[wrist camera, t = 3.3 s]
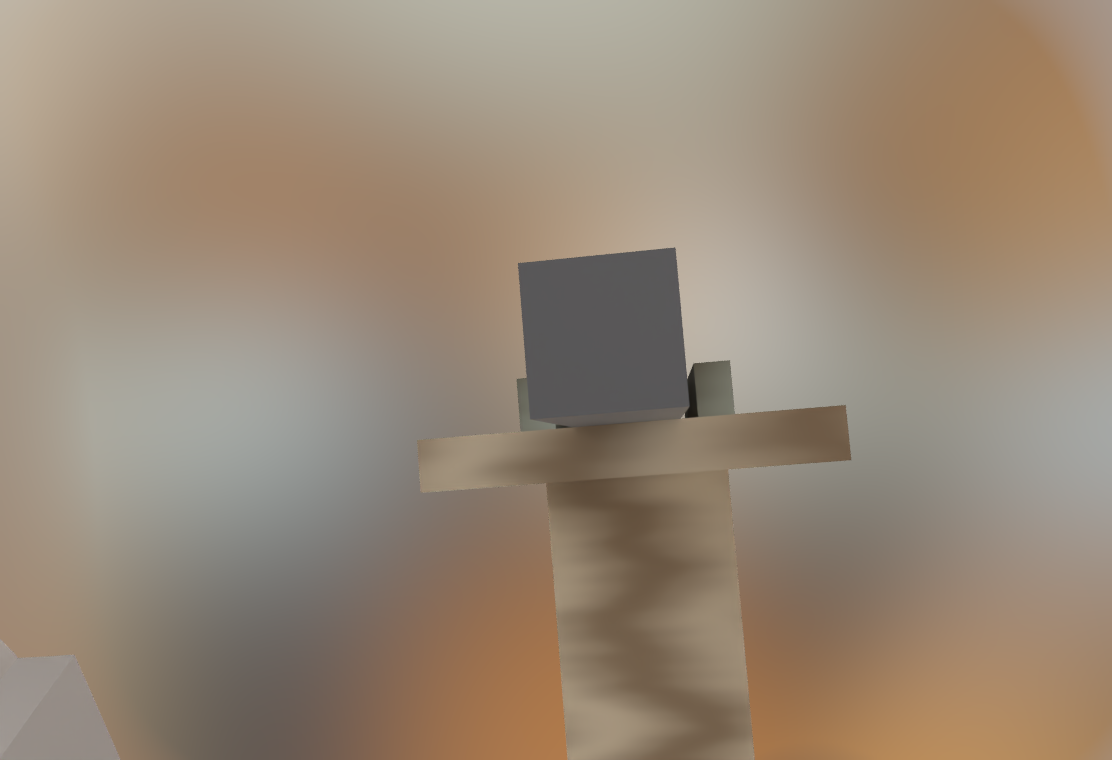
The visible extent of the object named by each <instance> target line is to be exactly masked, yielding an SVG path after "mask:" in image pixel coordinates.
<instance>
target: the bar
mask: <svg viewBox="0 0 1112 760" xmlns="http://www.w3.org/2000/svg"><path fill="white" fill-rule="evenodd" d="M675 250H676V249H675V248H666V249H657V250H647V251H636V252H626V253H617V254H606V255H596V256H586V257H576V258H567V259H556V260H546V261H537V262H527V263H518V269H519V281H520V295H521V308H522V320H523V333H524V346H525V360H526V373H527V386H528V399H529V412H530V420H535V421H541V422H546V423H552V424H557V425H563V426H568V427H584V426H596V425H609V424H621V423H633V422H646V421H658V420H670V419H680V418H681V417H682V416H683V414H684V413H685V412H686V410H687V409H688V408H689V395H688V383H687V372H686V361H685V351H684V339H683V328H682V317H681V305H680V294H679V282H678V271H677V260H676V251H675Z"/></svg>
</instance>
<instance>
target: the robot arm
mask: <svg viewBox="0 0 1112 760" xmlns="http://www.w3.org/2000/svg"><path fill="white" fill-rule="evenodd" d="M0 760H120V758H119V755H118V753H117V751H116V748H115V746H114V744H113V742H112V739H111V737H110V735H109V733H108V730H107V728H106V726H105V724H104V721H103V719H102V717H101V714H100V712H99V710H98V707H97V705H96V703H95V701H94V699H93V696H92V694H91V691H90V690H89V687H88V685H87V682H86V680H85V678H84V676H83V673H82V671H81V669H80V666H79V664H78V662H77V660H76V657H75V655H64V656H47V657H32V658H31V657H30V658H17V656H16V655H15V653H14V652H13V651H12V650H11V649H10V648H9V647H8V646H7V645H5V643H4V642H3V641H2V640H0Z"/></svg>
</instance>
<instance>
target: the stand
mask: <svg viewBox="0 0 1112 760" xmlns="http://www.w3.org/2000/svg"><path fill="white" fill-rule="evenodd" d="M687 383H688V395H689V408H688V409H687V410H686V412H685V418H682V419H670V420H658V421H646V422H633V423H621V424H609V425H596V426H584V427H568V426H563V425H557V424H552V423H546V422H541V421H535V420H530V412H529V399H528V386H527V378H523V379H517V389H518V403H519V414H520V428H521V432H511V433H498V434H487V435H474V436H462V437H450V438H437V439H425V440H417V444H418V457H419V458H418V459H419V473H420V488H421V492H422V493H423V492H436V491H449V490H462V489H476V488H488V487H502V486H515V485H528V484H542V483H546V487H547V499H548V512H549V525H550V537H551V551H552V563H553V577H554V590H555V602H556V615H557V628H558V641H559V654H560V666H561V679H562V692H563V705H564V718H565V731H566V743H567V756H568V760H755V759H754V747H753V738H752V737H753V736H752V726H751V714H750V704H749V694H748V682H747V672H746V660H745V649H744V638H743V629H742V628H743V627H742V617H741V605H740V594H739V584H738V573H737V562H736V551H735V540H734V530H733V518H732V507H731V496H730V485H729V474H728V469H740V468H753V467H766V466H779V465H792V464H804V463H805V464H806V463H819V462H831V461H844V460H851V454H850V444H849V434H848V424H847V414H846V406H845V405H844V406H843V405H842V406H830V407H817V408H805V409H793V410H781V411H768V412H756V413H745V414H735V411H734V400H733V389H732V378H731V368H730V361H718V362H706V363H695V364H693V367H692V369H691V372H690V374H689V376H688V379H687Z"/></svg>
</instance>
